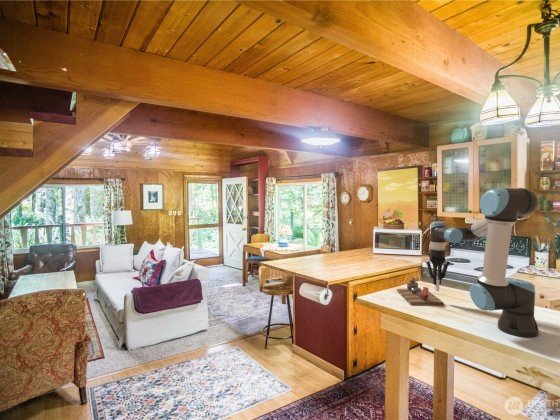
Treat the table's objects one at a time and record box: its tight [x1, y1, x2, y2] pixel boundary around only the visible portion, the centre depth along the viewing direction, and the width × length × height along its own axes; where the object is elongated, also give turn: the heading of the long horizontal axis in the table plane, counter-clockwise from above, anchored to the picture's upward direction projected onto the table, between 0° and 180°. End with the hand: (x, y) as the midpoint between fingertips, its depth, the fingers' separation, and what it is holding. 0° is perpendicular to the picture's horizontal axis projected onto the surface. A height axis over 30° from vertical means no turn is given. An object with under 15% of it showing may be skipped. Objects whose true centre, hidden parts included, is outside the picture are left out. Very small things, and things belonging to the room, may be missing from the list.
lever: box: [410, 286, 429, 299], centre depth 195 cm, size 20×6×7 cm, turn 177°
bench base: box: [396, 276, 445, 306], centre depth 196 cm, size 26×18×10 cm
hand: (436, 290), depth 187 cm, fingers closed
